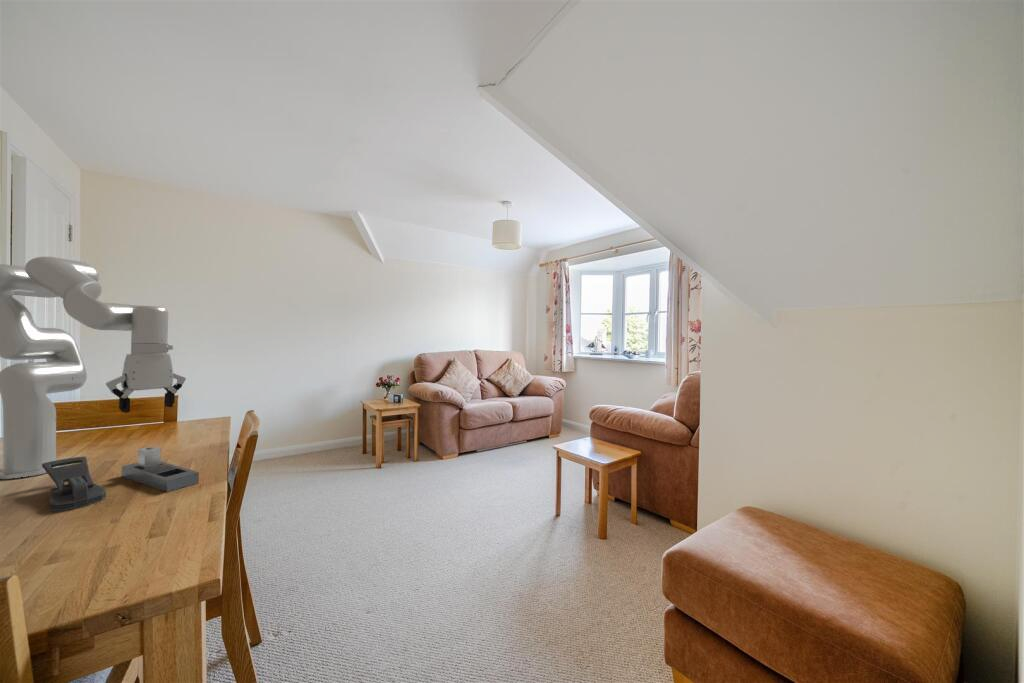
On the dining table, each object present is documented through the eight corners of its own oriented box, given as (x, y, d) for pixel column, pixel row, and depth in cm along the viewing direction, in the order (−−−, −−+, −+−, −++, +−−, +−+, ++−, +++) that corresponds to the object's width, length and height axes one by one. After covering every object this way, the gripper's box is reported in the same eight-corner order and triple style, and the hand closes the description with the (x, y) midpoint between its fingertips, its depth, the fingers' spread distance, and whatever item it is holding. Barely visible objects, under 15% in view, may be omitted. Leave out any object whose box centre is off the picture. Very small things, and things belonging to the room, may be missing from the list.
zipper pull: (88, 454, 107) (109, 474, 93) (88, 478, 107) (108, 501, 93) (38, 463, 100) (51, 485, 86) (37, 488, 100) (51, 515, 86)
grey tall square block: (137, 477, 108) (137, 449, 108) (153, 473, 112) (153, 445, 112) (144, 479, 107) (144, 450, 107) (160, 475, 110) (160, 447, 110)
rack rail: (121, 476, 109) (122, 465, 109) (153, 469, 115) (153, 458, 115) (167, 492, 99) (167, 480, 99) (198, 483, 105) (198, 472, 105)
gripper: (178, 348, 118) (177, 403, 119) (101, 349, 103) (99, 412, 103) (192, 349, 115) (190, 406, 115) (114, 350, 100) (112, 416, 100)
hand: (147, 409), depth 109 cm, fingers open, 9 cm apart
